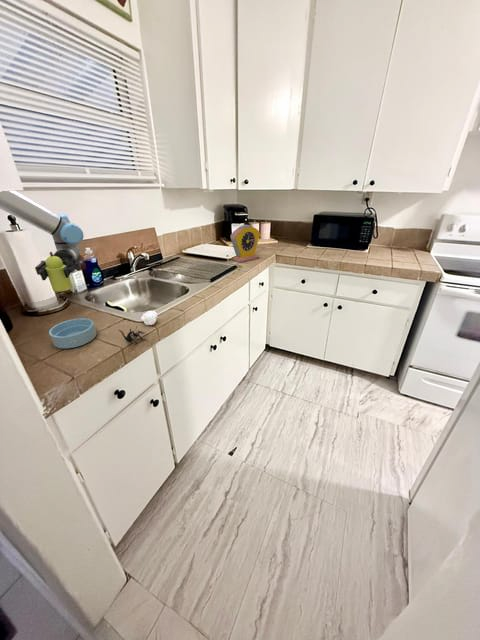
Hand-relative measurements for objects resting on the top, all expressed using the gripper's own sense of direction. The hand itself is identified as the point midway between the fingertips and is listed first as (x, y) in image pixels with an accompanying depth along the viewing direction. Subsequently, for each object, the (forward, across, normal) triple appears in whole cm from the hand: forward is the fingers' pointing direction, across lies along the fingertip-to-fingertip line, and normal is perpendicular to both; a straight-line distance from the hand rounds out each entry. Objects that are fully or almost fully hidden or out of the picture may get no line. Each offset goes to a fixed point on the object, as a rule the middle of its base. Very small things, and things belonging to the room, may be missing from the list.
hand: (54, 275), depth 87 cm
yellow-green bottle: (-5, 0, -7) cm, 8 cm away
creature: (+23, -21, -18) cm, 36 cm away
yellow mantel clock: (-55, -95, -18) cm, 111 cm away
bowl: (+14, -3, -18) cm, 23 cm away
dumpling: (+12, -27, -18) cm, 34 cm away
